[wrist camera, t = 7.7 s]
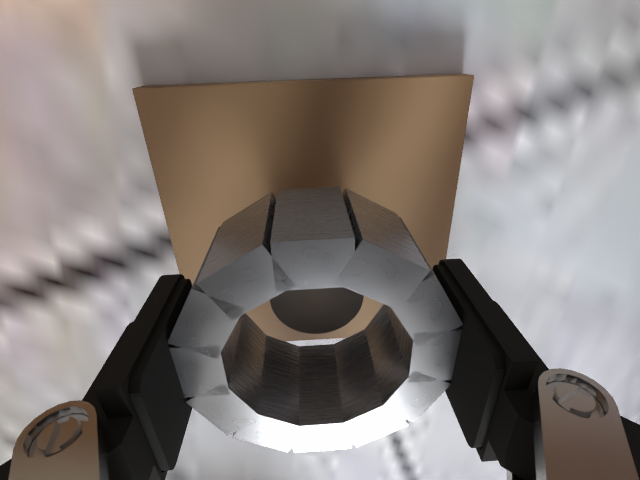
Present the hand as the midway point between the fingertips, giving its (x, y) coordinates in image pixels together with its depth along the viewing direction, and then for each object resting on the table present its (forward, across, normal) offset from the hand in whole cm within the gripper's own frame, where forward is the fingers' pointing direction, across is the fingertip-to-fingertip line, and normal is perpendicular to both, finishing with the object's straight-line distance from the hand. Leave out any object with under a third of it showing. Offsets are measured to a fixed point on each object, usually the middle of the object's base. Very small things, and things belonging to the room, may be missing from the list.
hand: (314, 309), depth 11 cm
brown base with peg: (+6, 0, 0) cm, 6 cm away
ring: (+1, 0, 0) cm, 1 cm away
